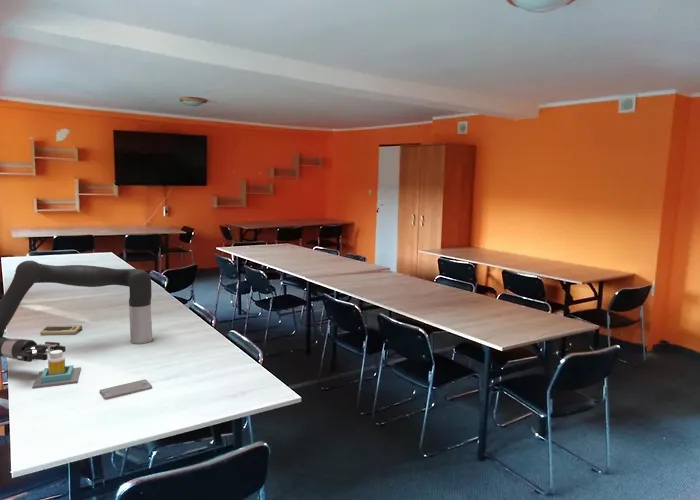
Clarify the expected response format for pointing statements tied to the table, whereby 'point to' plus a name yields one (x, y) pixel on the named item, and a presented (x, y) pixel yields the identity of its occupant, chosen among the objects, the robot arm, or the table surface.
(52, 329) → the computer
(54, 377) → the bottle dock
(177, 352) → the table surface
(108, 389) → the phone
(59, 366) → the supplement bottle
